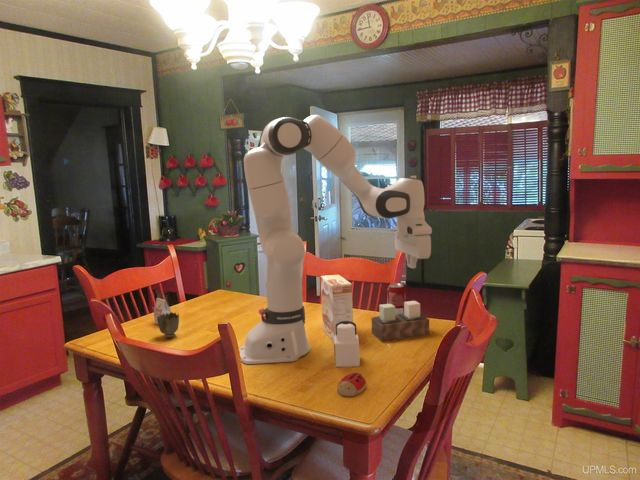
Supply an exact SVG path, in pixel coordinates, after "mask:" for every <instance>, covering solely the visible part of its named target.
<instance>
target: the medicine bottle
mask: <svg viewBox="0 0 640 480" xmlns="http://www.w3.org/2000/svg"><path fill="white" fill-rule="evenodd" d="M333 346H334V347H333V349H334V367H335V368H345V367H346V368H347V367H348V368H349V367H351V368H352V367H360V364H361V361H360V341H359V335H358V334H357V324H356V323H355V322H354V321H353V322H351V321H341V322H339V323H337V324H336V335H335V336H334V342H333Z"/></svg>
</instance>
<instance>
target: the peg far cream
mask: <svg viewBox="0 0 640 480" xmlns="http://www.w3.org/2000/svg"><path fill="white" fill-rule="evenodd" d="M420 314H421V303H420V302H418V301H417V300H409V301H406V302H404V315H405V316H406V317H408V318H416V317H420Z"/></svg>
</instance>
